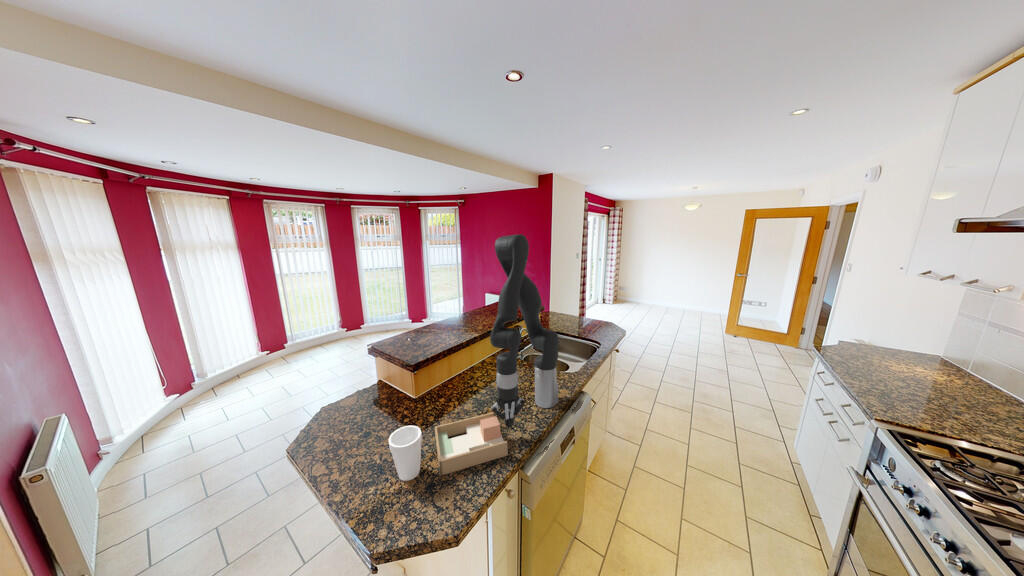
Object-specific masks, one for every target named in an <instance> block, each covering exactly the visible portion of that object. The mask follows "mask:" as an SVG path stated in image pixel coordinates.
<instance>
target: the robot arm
mask: <svg viewBox="0 0 1024 576" xmlns="http://www.w3.org/2000/svg"><path fill="white" fill-rule="evenodd" d="M528 240H529V239H527V237H526V236H525V235H524V234H519V233H518V234H511V235H505V236H504V235H503V236H501V237H500V236H499V237H498V238H497V239H496V240H495V242H494V250H495V251H494V252H495V255H496V258H497V260H498V262H499V264H500V266H501V268H502V269H503V271H504V273H505V275H506V278H507V279H506V281H505V282H504V284H503V286H502V287H501V289H500V290H501V291H500V293H499V296H498V301H497V302H498V304H497V314H496V317H495V321H494V323H493V327H492V329H491V332H490V335H489V341H490V344H491V346H492V347H494V348H497V349H506V350H508V351H504V352H501V353H499V354H498V355H497V356H496V358H495V360H496V363H495V364H496V375H495V376H496V378H495V379H496V399H495V403H494V404H491V405H490V408H491V410H492V412H493V413H494V415H495V416H498V418H500V419H501V420H504V425H505V427H507V429H509V428H513V425H514V417H515V416H518V414H520V412H521V411H522V409H523V407H524V405H525V404H526V400H525V399H524V398H523V397H520V395H519V375H518V367H517V365H518V361H517V359H518V353H519V351H520V350H519V349H520V346H521V343H522V342H521V341H522V333H521V332H520V331H519V330H518V329H517V328H512V327H511V328H510V327H505V324H506V323H507V322H514V321H517V319H518V318H519V317H518V316H519V311H520V313H521V315H522V318H523V321H524V324H525V326H526V331H527V335H528V339H529V341H530V344H531V346H532V347H534V348H535V349H537V350H539V351H542V355H538V356H536V357H535V358H534V402H535V405H536V406H538V407H539V408H542V409H551V408H554V407H555V406H556V405H558V404H559V383H558V381H557V362H558V359H559V345H560V339H559V335H558V333H557V332H556V331H554V330H552V329H548V328H545V327H544V326H543V325H542V323H541V319H540V312H541V309H542V302H543V301H542V298H541V294H540V292H539V289H538V287H537V285H536V284H535V283H534V281H533V280H532V279H531V278H530V277H529V276H528V275H527V274H526V273H525V271H526V266H527V262H528V258H529V251H530V246H529V245H530V244H529V241H528ZM499 408H500V409H501V410H502V411H501V410H500V409H499Z"/></svg>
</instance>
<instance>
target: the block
mask: <svg viewBox="0 0 1024 576" xmlns="http://www.w3.org/2000/svg"><path fill="white" fill-rule="evenodd" d="M480 428H481V434H482V437H483V440H484V442H485V441H489V440H492V439H496V438H499V437H501V436H502V433H501V423H500V421H499V420H498V417H497V415H494V417H490V418H486V419H482V420H480Z"/></svg>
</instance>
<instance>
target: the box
mask: <svg viewBox="0 0 1024 576" xmlns="http://www.w3.org/2000/svg"><path fill="white" fill-rule="evenodd" d="M494 416H495V413H494V412H493V411H492V412H488V413H484V414H481V415H477V416H473V417H468V418H463V419H461V420H460V419H459V420H456V421H453V422H448V423H445V424H444V423H443V424H439V425H436V426H434V433H435V435H434V436H435V444H436V453H437V461H438V469H439V475H440V477H441V476H444V475H447V474H451V473H455V472H458V471H462V470H464V469H467V468H471V467H474V466H477V465H481V464H483V463H488V462H491V461H494V460H498V459H500V458H503V457H507V456H509V455H508V452H509V451H508V450H509V448H508V441H507V440H504V437H503V436H502V435H501V437H499V438H496V439H492V440H489V441H485V442H484V440H483V437H482V434H481V428H480V420H482V419H486V418H490V417H494ZM464 433H466V434H464ZM460 434H462V435H460ZM453 436H454V437H453ZM449 437H451V438H449Z"/></svg>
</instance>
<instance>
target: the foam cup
mask: <svg viewBox="0 0 1024 576" xmlns="http://www.w3.org/2000/svg"><path fill="white" fill-rule="evenodd" d="M389 435H390V436H389V437H388V446H389V451H390V453H391V456H392V459H393V462H394V466H395V469H396V472H397V475H398V478H399V480H400V481H403V482H408V481H411V480H413V479H414V478H416V477H417V476H418V475H419V474H420V471H421V456H422V440H423V433H422V430H421V428H420V427H419V426H417V425H405V426H401V427H400V428H398V429H397V428H396V430H394V431H393V432H392V433H391V434H389Z"/></svg>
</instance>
